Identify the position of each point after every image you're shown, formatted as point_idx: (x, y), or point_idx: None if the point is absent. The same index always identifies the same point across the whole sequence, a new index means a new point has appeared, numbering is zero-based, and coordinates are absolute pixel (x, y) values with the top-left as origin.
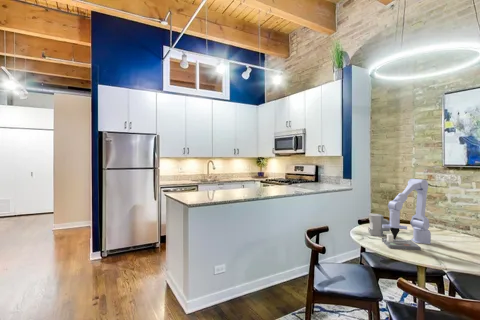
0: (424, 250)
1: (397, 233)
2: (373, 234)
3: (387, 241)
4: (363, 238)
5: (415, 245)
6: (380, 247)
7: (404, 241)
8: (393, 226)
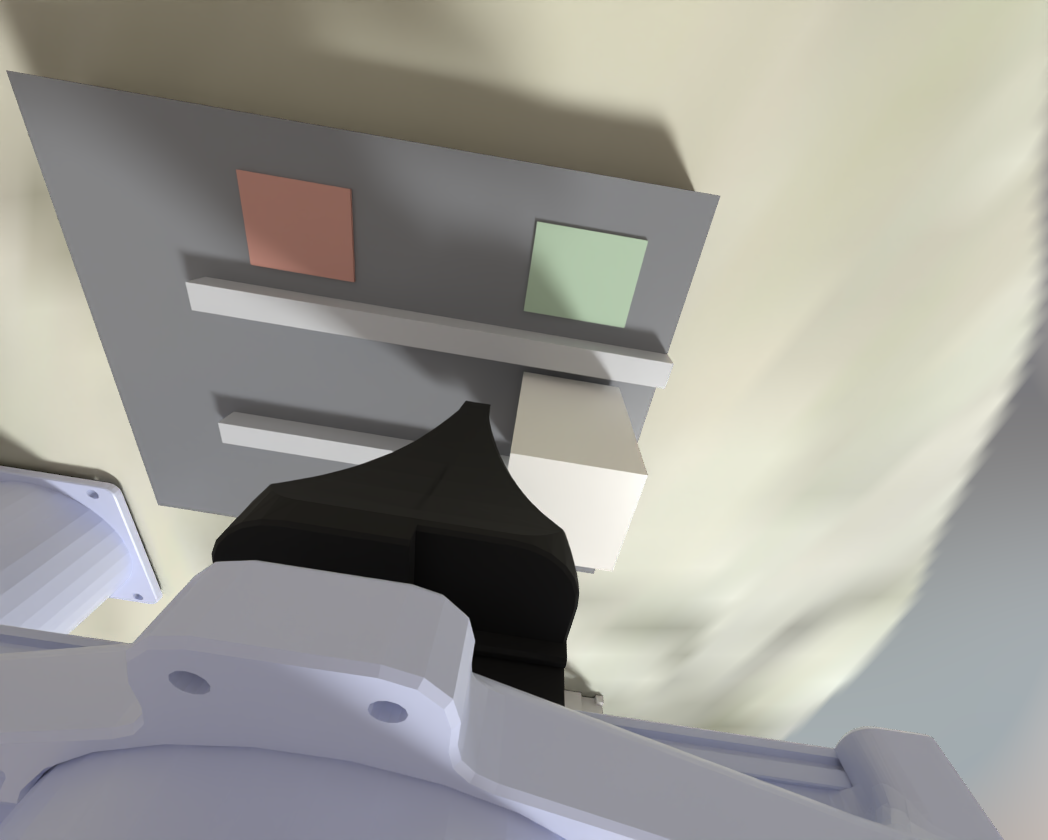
0: (11, 107)
1: (380, 461)
2: (578, 708)
3: (657, 372)
4: (795, 620)
5: (113, 218)
6: (868, 224)
7: (279, 424)
8: (514, 805)
